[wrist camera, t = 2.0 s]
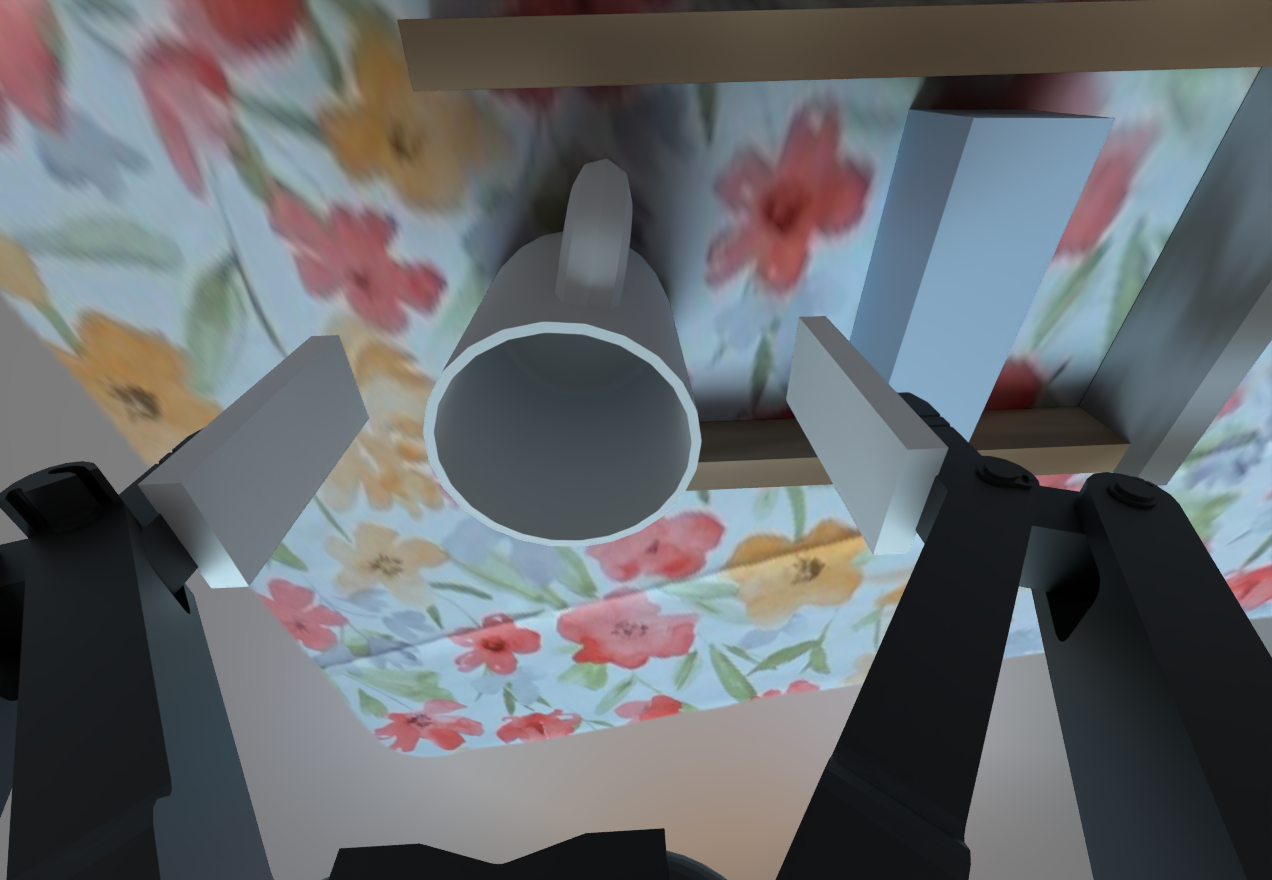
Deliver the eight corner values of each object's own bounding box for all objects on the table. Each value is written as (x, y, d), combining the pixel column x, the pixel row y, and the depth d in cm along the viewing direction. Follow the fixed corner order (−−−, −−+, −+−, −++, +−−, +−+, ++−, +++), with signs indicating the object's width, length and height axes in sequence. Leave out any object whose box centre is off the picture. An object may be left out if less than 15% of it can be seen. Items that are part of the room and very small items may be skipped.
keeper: (905, 109, 18) (973, 117, 14) (1022, 109, 18) (1115, 118, 14) (833, 393, 24) (869, 445, 21) (919, 392, 24) (968, 443, 21)
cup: (485, 383, 23) (425, 532, 15) (498, 116, 17) (414, 150, 10) (648, 409, 24) (666, 559, 16) (711, 165, 18) (778, 229, 11)
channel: (430, 27, 16) (383, 16, 12) (1343, 3, 16) (1527, -14, 13) (514, 456, 25) (499, 514, 22) (1095, 431, 25) (1166, 485, 22)
